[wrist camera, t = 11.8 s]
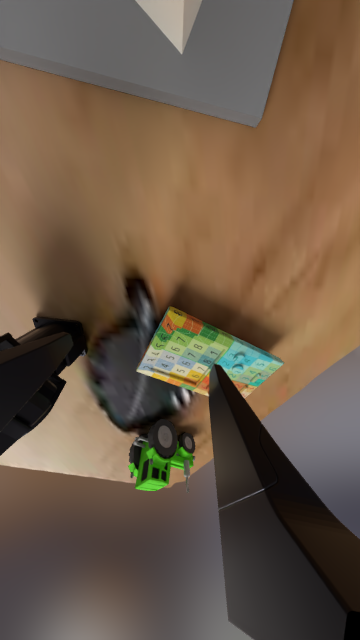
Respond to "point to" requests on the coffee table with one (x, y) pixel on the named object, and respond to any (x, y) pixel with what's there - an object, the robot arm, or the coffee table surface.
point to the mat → (154, 50)
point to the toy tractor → (160, 456)
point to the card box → (173, 18)
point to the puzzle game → (203, 355)
